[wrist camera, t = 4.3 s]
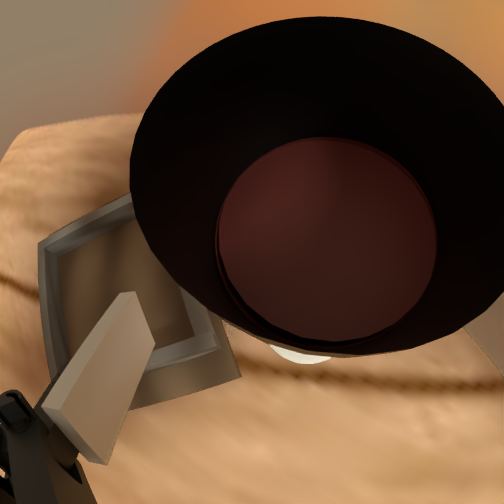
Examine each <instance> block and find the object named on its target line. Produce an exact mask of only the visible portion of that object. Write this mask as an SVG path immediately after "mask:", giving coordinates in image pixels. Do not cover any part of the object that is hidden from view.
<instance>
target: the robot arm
mask: <svg viewBox="0 0 504 504" xmlns="http://www.w3.org/2000/svg"><path fill="white" fill-rule="evenodd" d="M463 328H464V329H465V330H466V331H467V333H468V334H469V335H470V336H471V337H472V338H473V339H474V341H475V342H476V343H477V344H478V345H479V347H480V348H481V349H482V350H483V351H484V353H485V354H486V355H487V356H488V357H489V359H490V360H491V361H492V362H493V364H494V365H495V366H496V367H497V369H498V370H499V371H500V372H501V374H502V375H503V376H504V292H503V293H502V294H501V296H500V297H499V298H498V299H497V300H496V301H495V302H494V303H493V304H492V305H491V306H490V307H489V308H488V309H487V310H486V311H485V312H484V313H482V314H481V315H480V316H478V317H477V318H475V319H474V320H472V321H471V322H469V323H468V324H466V325H465V326H463ZM154 346H155V342H154V339H153V337H152V334H151V332H150V329H149V327H148V324H147V322H146V319H145V316H144V314H143V311H142V308H141V306H140V303H139V300H138V298H137V295H136V292H135V291H132V292H124V293H120V294H119V295H118V296H117V297H116V299H115V300H114V301H113V303H112V304H111V305H110V307H109V308H108V309H107V311H106V312H105V313H104V315H103V316H102V317H101V319H100V320H99V321H98V323H97V324H96V326H95V327H94V328H93V330H92V331H91V332H90V334H89V335H88V337H87V338H86V339H85V341H84V342H83V344H82V345H81V346H80V348H79V349H78V351H77V352H76V354H75V355H74V356H72V357H71V358H70V359H69V360H67V361H66V362H65V363H64V364H63V365H62V366H61V368H60V369H59V371H58V372H57V374H56V376H55V377H54V378H53V380H52V381H51V384H49V386H48V387H47V389H46V390H45V392H44V393H43V395H42V396H41V398H40V399H39V401H38V403H37V404H36V406H35V407H34V409H33V408H32V407H31V406H30V404H29V403H28V402H27V400H26V399H25V398H24V396H23V395H22V393H21V392H19V391H18V390H9V391H6V392H4V393H2V394H1V395H0V423H1V424H0V468H1V469H2V470H3V471H4V472H5V477H4V478H3V477H1V476H0V504H97V502H96V500H95V497H94V495H93V493H92V491H91V488H90V486H89V483H88V481H87V479H86V476H85V474H84V471H83V468H82V466H81V464H80V463H79V461H78V460H77V459H76V458H77V456H78V453H79V452H80V453H81V454H82V455H83V456H84V457H85V458H86V459H87V460H88V461H89V462H93V463H98V464H102V465H108V462H109V459H110V457H111V454H112V451H113V448H114V446H115V443H116V440H117V438H118V435H119V432H120V430H121V427H122V424H123V422H124V419H125V417H126V414H127V411H128V409H129V406H130V404H131V401H132V399H133V396H134V394H135V391H136V389H137V386H138V384H139V381H140V379H141V377H142V374H143V372H144V369H145V367H146V365H147V362H148V360H149V357H150V355H151V353H152V350H153V348H154Z"/></svg>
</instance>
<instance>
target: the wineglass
mask: <svg viewBox="0 0 504 504" xmlns="http://www.w3.org/2000/svg"><path fill="white" fill-rule="evenodd" d="M130 193H131V198H132V202H133V207H134V212H135V216H136V219H137V222H138V224H139V226H140V228H141V230H142V233H143V235H144V237H145V239H146V241H147V243H148V245H149V248H150V250H151V251H152V252H153V254H154V255H155V256H156V258H157V259H158V260H159V262H160V263H161V264H162V265H163V267H164V268H165V269H166V271H167V272H168V273H169V274H170V276H171V277H172V278H173V280H174V281H175V282H176V283H177V284H178V285H180V286H181V287H182V288H183V289H184V290H186V291H187V292H188V293H189V294H190V295H191V296H193V297H194V298H195V299H196V300H197V301H199V302H200V303H201V304H202V305H203V306H205V307H206V308H207V309H208V310H210V311H211V312H212V313H214V314H215V315H217V316H218V317H219V318H221V319H222V320H224V321H225V322H227V323H229V324H230V325H232V326H234V327H236V328H238V329H239V330H241V331H243V332H245V333H247V334H249V335H251V336H253V337H255V338H257V339H259V340H261V341H263V342H265V343H267V344H269V345H270V346H271V348H272V349H273V350H275V351H276V352H277V353H278V354H279V355H281V356H282V357H283V358H286V359H288V360H291V361H293V362H296V363H304V364H314V363H318V362H322V361H326V360H328V359H330V358H331V357H337V358H350V357H360V356H369V355H377V354H385V353H392V352H397V351H402V350H407V349H412V348H415V347H418V346H420V345H423V344H426V343H429V342H431V341H434V340H437V339H439V338H442V337H444V336H447V335H450V334H452V333H454V332H456V331H457V330H459V329H460V328H462V327H463V326H465V325H466V324H468V323H469V322H471V321H472V320H474V319H475V318H477V317H478V316H480V315H481V314H482V313H484V312H485V311H486V310H487V309H488V308H489V307H490V306H491V305H492V304H493V303H494V302H495V301H496V300H497V299H498V298H499V297H500V296H501V294H502V293H503V292H504V106H503V104H502V103H501V102H500V100H499V99H498V98H497V97H496V95H495V94H494V93H493V92H492V91H491V89H490V88H489V87H488V86H487V85H486V84H485V83H484V82H483V81H482V80H481V79H480V78H479V77H478V76H477V75H476V74H474V73H473V72H472V71H471V70H470V69H469V68H468V67H466V66H465V65H464V64H463V63H461V62H460V61H459V60H457V59H456V58H454V57H453V56H451V55H450V54H448V53H447V52H445V51H444V50H442V49H440V48H439V47H437V46H435V45H433V44H431V43H430V42H428V41H426V40H424V39H422V38H419V37H417V36H415V35H412V34H410V33H408V32H405V31H402V30H399V29H396V28H393V27H390V26H386V25H383V24H379V23H375V22H370V21H365V20H360V19H352V18H344V17H321V16H319V17H301V18H292V19H285V20H279V21H274V22H270V23H266V24H262V25H259V26H255V27H252V28H249V29H247V30H244V31H241V32H238V33H235V34H233V35H231V36H229V37H227V38H224V39H222V40H220V41H219V42H217V43H215V44H213V45H211V46H209V47H208V48H206V49H205V50H204V51H202V52H200V53H199V54H197V55H196V56H194V57H193V58H191V59H190V60H189V61H188V62H187V63H185V64H184V65H183V66H182V67H181V68H180V69H179V70H177V71H176V72H175V73H174V74H173V75H172V76H171V77H170V78H169V80H168V81H167V82H166V83H165V84H164V85H163V86H162V88H161V89H160V90H159V91H158V92H157V94H156V96H155V97H154V99H153V100H152V102H151V103H150V105H149V107H148V108H147V109H146V111H145V113H144V116H143V118H142V120H141V122H140V125H139V127H138V129H137V132H136V134H135V139H134V143H133V147H132V152H131V157H130Z"/></svg>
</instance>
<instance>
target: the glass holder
mask: <svg viewBox="0 0 504 504" xmlns="http://www.w3.org/2000/svg"><path fill="white" fill-rule="evenodd" d="M38 282H39V298H40V310H41V320H42V329H43V336H44V343H45V350H46V356H47V362H48V367H49V372H50V377H51V381H52V380H53V378H54V377H55V376H56V374H57V372H58V371H59V369H60V368H61V366H62V365H63V364H64V363H65V362H66V361H67V360H69V359H70V358H71V357H72V356H74V355H75V354H76V352H77V351H78V349H79V348H80V346H81V345H82V344H83V342H84V341H85V339H86V338H87V337H88V335H89V334H90V332H91V331H92V330H93V328H94V327H95V326H96V324H97V323H98V321H99V320H100V319H101V317H102V316H103V315H104V313H105V312H106V311H107V309H108V308H109V307H110V305H111V304H112V303H113V301H114V300H115V299H116V297H117V296H118V295H119V294H120V293H124V292H132V291H135V292H136V295H137V298H138V300H139V303H140V306H141V308H142V311H143V314H144V316H145V319H146V322H147V324H148V327H149V329H150V332H151V334H152V337H153V339H154V342H155V346H154V348H153V350H152V353H151V355H150V357H149V360H148V362H147V365H146V367H145V369H144V372H143V374H142V377H141V379H140V381H139V384H138V386H137V389H136V391H135V394H134V396H133V399H132V401H131V404H130V406H129V409H128V410H133V409H137V408H141V407H145V406H149V405H153V404H156V403H160V402H164V401H167V400H171V399H175V398H178V397H182V396H185V395H188V394H192V393H195V392H198V391H201V390H204V389H208V388H211V387H214V386H217V385H220V384H223V383H226V382H229V381H232V380H234V379H237V378H240V377H242V375H241V373H240V370H239V367H238V365H237V362H236V360H235V357H234V354H233V352H232V349H231V346H230V344H229V341H228V338H227V335H226V333H225V330H224V327H223V324H222V322H221V319H220V318H219V317H218V316H217V315H215V314H214V313H212V312H211V311H210V310H208V309H207V308H206V307H205V306H203V305H202V304H201V303H200V302H199V301H197V300H196V299H195V298H194V297H193V296H191V295H190V294H189V293H188V292H187V291H186V290H184V289H183V288H182V287H181V286H180V285H178V284H177V283H176V282H175V281H174V280H173V278H172V277H171V276H170V274H169V273H168V272H167V271H166V269H165V268H164V267H163V265H162V264H161V263H160V262H159V260H158V259H157V258H156V256H155V255H154V254H153V252H152V251H151V250H150V248H149V245H148V243H147V241H146V239H145V237H144V235H143V233H142V230H141V228H140V226H139V224H138V222H137V219H136V216H135V212H134V207H133V202H132V198H131V193H130V192H129V193H127V194H125V195H123V196H121V197H119V198H117V199H115V200H113V201H111V202H109V203H107V204H105V205H103V206H101V207H99V208H98V209H96V210H94V211H92V212H90V213H88V214H86V215H84V216H82V217H81V218H79V219H77V220H75V221H73V222H71V223H70V224H68V225H66V226H64V227H63V228H61V229H59V230H57V231H56V232H54V233H52V234H50V235H49V237H47V238H46V239H44V240H42V241H41V242H39V243H38Z"/></svg>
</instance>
